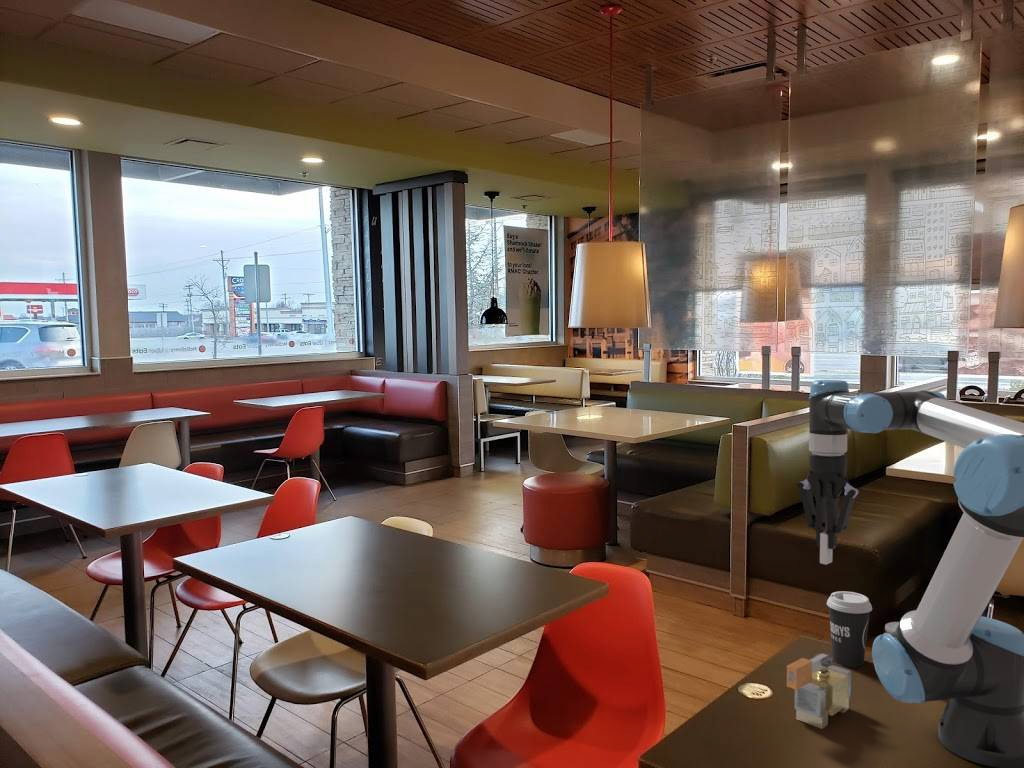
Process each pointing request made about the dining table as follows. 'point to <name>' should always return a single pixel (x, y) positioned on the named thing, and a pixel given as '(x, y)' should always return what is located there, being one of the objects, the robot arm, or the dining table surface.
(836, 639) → the coffee cup
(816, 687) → the valve body
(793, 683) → the lever
